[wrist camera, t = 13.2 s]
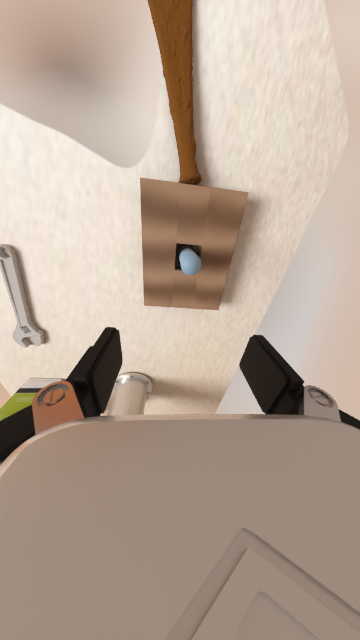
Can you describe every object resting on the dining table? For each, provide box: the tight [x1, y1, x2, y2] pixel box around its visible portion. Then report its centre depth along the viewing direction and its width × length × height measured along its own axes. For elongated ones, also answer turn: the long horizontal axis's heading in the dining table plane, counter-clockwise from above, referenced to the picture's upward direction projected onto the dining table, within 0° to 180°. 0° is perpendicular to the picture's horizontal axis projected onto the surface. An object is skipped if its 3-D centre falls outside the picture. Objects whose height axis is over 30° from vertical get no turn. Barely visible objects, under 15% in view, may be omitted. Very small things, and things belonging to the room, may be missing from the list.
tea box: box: [0, 378, 63, 421], centre depth 45 cm, size 15×10×15 cm
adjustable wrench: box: [0, 244, 45, 347], centre depth 34 cm, size 25×6×2 cm, turn 160°
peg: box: [179, 246, 201, 275], centre depth 26 cm, size 3×3×10 cm
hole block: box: [140, 178, 248, 310], centre depth 29 cm, size 20×16×4 cm
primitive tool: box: [148, 0, 201, 185], centre depth 19 cm, size 19×6×4 cm, turn 12°
